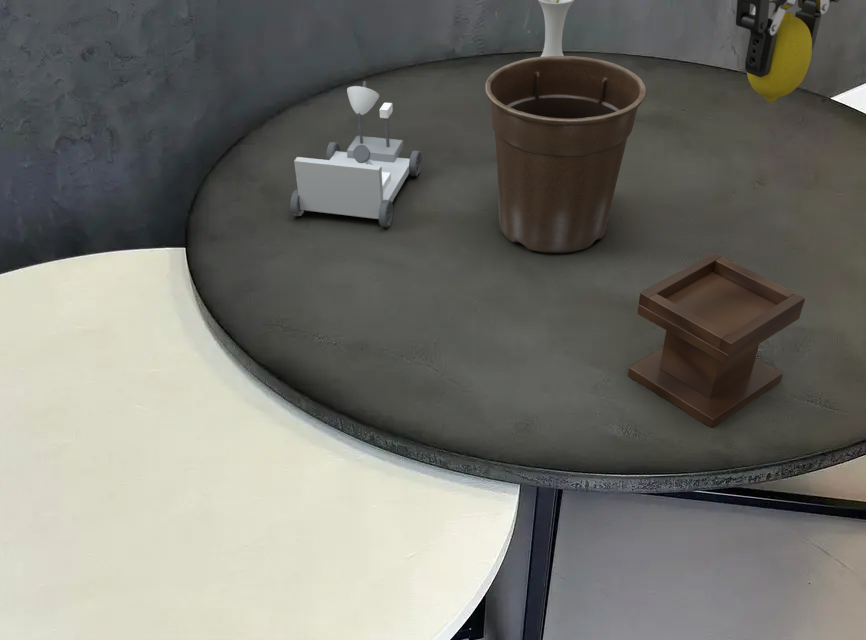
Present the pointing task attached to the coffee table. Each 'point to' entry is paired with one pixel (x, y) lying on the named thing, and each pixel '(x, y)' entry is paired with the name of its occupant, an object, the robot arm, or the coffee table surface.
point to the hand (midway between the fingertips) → (778, 63)
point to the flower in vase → (554, 25)
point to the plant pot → (560, 147)
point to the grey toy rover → (356, 170)
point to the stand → (713, 336)
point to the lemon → (786, 60)
